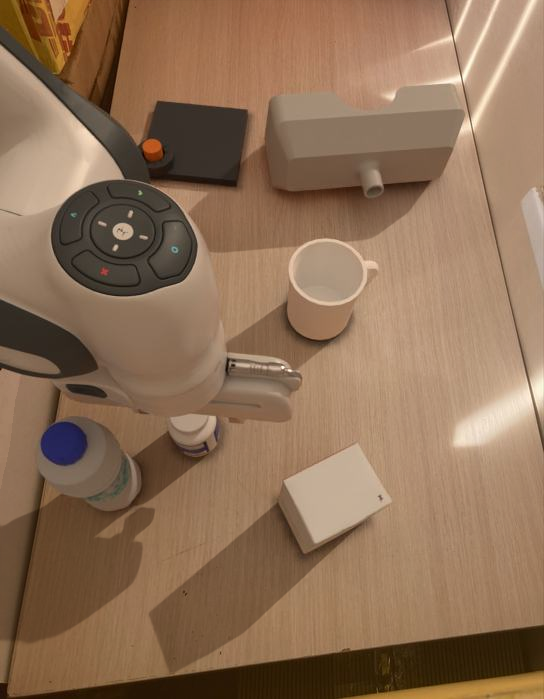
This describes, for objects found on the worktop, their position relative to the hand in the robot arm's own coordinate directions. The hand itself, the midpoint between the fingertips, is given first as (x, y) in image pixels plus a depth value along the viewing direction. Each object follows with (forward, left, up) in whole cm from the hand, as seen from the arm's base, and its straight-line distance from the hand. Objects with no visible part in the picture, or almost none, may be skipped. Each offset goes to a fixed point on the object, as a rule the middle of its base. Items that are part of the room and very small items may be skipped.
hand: (190, 411), depth 54 cm
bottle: (-8, -6, -10) cm, 14 cm away
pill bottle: (0, 0, -10) cm, 10 cm away
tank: (+17, +41, -10) cm, 45 cm away
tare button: (-12, +39, -7) cm, 41 cm away
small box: (+15, -7, -10) cm, 19 cm away
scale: (-7, +44, -10) cm, 46 cm away
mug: (+14, +18, -10) cm, 25 cm away
